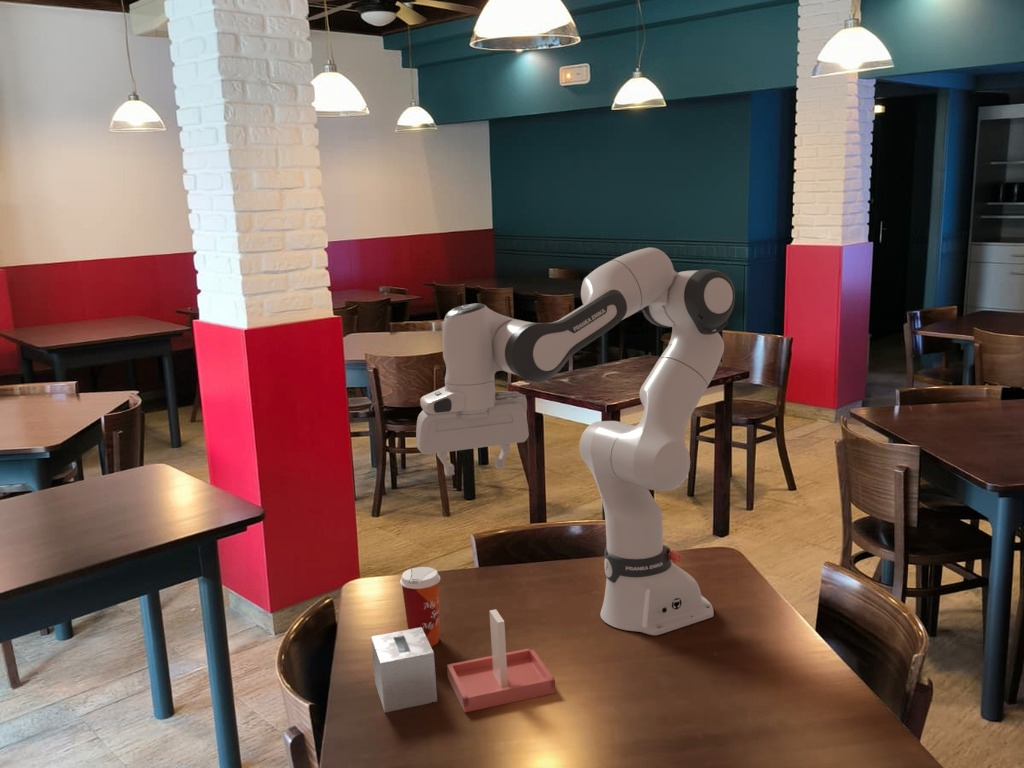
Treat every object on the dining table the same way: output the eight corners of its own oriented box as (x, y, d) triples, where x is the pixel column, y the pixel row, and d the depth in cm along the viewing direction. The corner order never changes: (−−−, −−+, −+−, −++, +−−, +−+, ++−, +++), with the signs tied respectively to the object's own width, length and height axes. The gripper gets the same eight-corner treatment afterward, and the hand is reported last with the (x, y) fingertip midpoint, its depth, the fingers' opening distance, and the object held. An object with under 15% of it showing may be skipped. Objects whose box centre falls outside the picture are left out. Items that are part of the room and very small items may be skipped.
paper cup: (438, 652, 168) (433, 582, 165) (399, 650, 169) (393, 581, 166) (449, 632, 175) (444, 566, 172) (412, 630, 177) (407, 564, 174)
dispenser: (425, 673, 160) (421, 627, 158) (437, 701, 151) (433, 652, 149) (375, 683, 158) (371, 636, 156) (384, 712, 148) (380, 663, 146)
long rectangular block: (499, 672, 157) (496, 609, 155) (507, 686, 153) (504, 621, 150) (493, 673, 157) (489, 610, 155) (501, 687, 152) (497, 622, 150)
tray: (532, 660, 163) (532, 647, 162) (555, 692, 152) (554, 679, 151) (447, 677, 158) (446, 664, 158) (464, 712, 147) (463, 698, 147)
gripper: (520, 387, 164) (524, 459, 166) (411, 399, 158) (416, 473, 161) (531, 393, 158) (535, 468, 161) (418, 406, 152) (423, 483, 155)
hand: (475, 471), depth 161 cm, fingers open, 8 cm apart
